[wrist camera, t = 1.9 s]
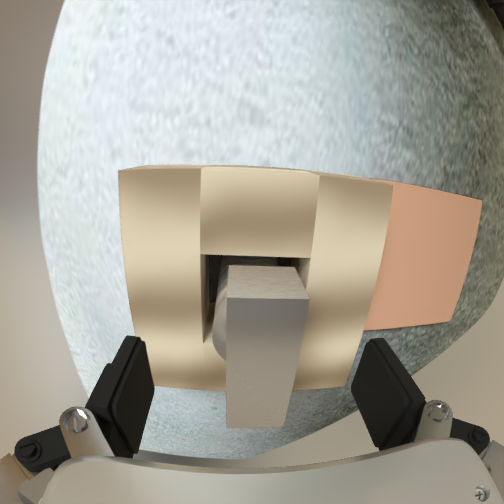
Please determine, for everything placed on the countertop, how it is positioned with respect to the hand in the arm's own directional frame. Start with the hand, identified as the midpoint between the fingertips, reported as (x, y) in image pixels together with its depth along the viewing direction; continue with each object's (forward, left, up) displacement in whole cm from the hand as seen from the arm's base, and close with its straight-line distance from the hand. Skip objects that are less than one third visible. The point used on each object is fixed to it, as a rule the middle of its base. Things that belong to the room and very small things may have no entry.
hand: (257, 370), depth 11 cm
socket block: (0, 0, -10) cm, 10 cm away
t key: (0, 0, -10) cm, 10 cm away
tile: (-1, +14, -10) cm, 17 cm away
